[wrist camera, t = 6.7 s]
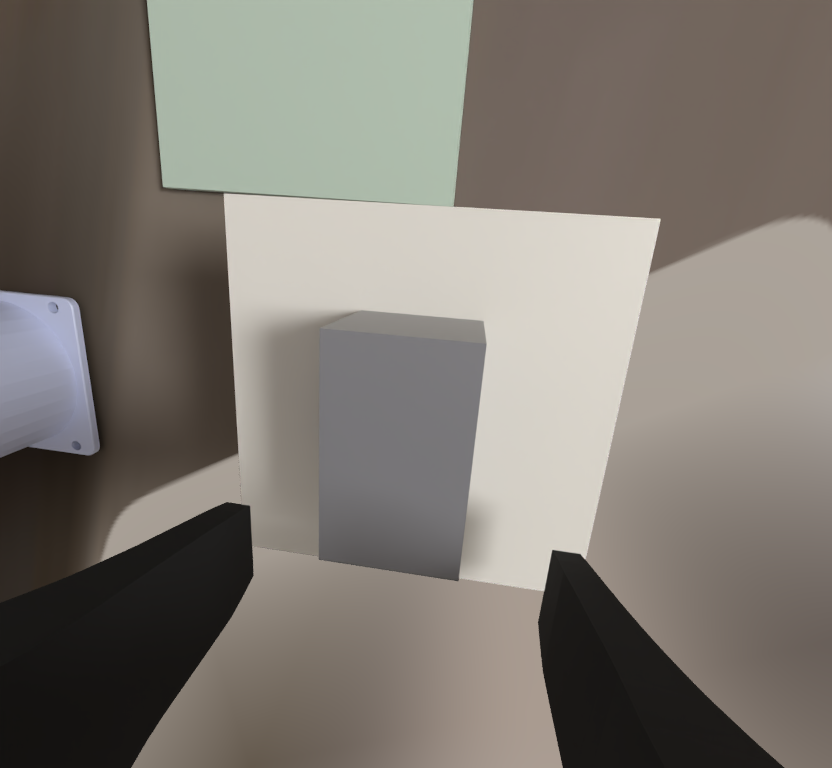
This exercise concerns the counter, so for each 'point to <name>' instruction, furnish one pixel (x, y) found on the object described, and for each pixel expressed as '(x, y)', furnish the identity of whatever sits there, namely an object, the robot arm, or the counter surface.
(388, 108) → the mat
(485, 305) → the lid
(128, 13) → the counter surface
